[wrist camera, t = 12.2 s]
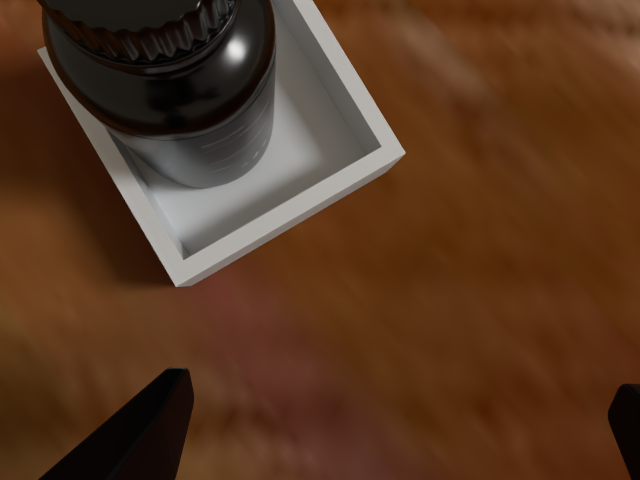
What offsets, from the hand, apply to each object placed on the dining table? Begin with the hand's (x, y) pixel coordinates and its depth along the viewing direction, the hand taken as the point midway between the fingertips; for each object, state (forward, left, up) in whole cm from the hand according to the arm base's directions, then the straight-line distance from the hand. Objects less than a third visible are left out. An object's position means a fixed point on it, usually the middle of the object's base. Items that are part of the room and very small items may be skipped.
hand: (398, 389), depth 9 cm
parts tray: (+1, +11, -13) cm, 17 cm away
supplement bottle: (0, +12, -12) cm, 17 cm away
